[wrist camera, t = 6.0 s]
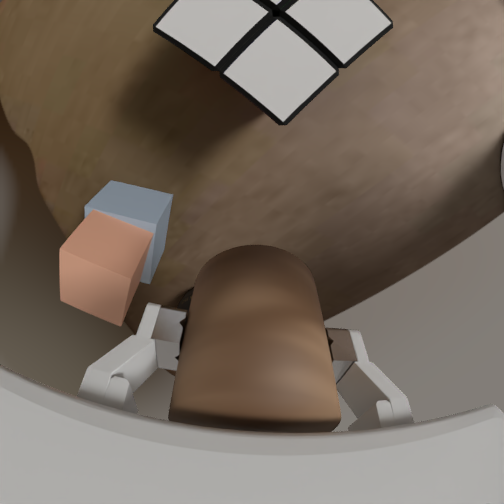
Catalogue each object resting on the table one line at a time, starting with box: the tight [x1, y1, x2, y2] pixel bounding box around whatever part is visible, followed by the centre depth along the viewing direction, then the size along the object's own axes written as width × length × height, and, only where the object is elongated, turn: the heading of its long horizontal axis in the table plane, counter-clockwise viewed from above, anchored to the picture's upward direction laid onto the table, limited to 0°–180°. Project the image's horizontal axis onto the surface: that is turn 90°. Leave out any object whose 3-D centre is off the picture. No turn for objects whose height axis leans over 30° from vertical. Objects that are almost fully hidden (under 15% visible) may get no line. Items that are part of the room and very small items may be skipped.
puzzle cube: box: [153, 0, 393, 125], centre depth 16 cm, size 10×10×10 cm
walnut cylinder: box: [168, 245, 341, 433], centre depth 10 cm, size 5×5×6 cm
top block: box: [60, 209, 154, 327], centre depth 23 cm, size 6×6×6 cm
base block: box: [85, 180, 173, 284], centre depth 28 cm, size 7×7×6 cm
